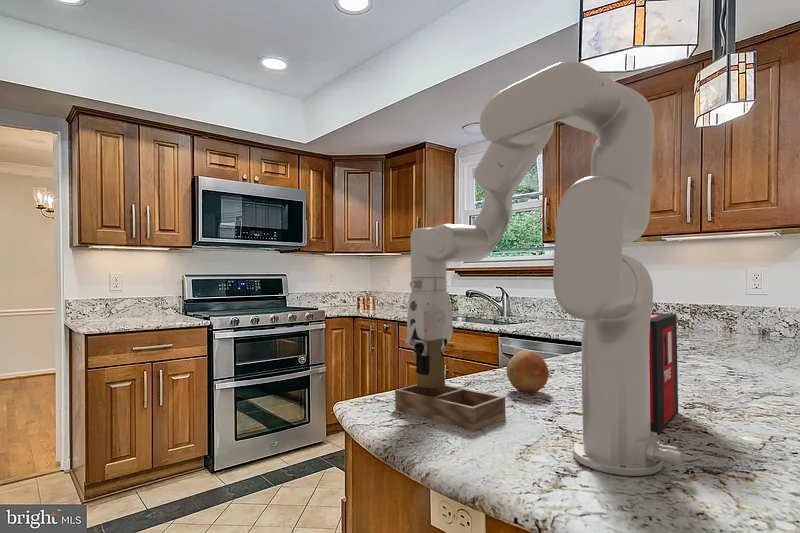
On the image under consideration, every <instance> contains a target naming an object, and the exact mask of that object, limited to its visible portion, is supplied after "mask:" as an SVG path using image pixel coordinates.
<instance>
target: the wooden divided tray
mask: <svg viewBox="0 0 800 533" xmlns="http://www.w3.org/2000/svg"><path fill="white" fill-rule="evenodd" d="M394 400H395V401H394V403H395V404H394V408H395V409H394V410H395V411H399V412H402V413H406V414H411V415H413V416H416V417H420V418H424V419H427V420H431V421H435V422H438V423H442V424H445V425H448V424H449V426H452V425H453V426H452V427H456V426H457V427H456V428H459V427H461V428H460V429H463V428H464V430H466V429H468V430H467V431H470V430H471V431H470V432H473V431H474V432H476V431H478V430H481V429H483V428H486V427H488V426H490V424H491V425H493V424H496V423H498V422H500V421H502V419H503V420H505V419H506V416H507V415H506V397H505V396H502V395H497V394H492V393H487V392H483V391H478V390H474V389H473V390H472V389H468V388H463V387H459V386H454V385H448V384H445V386H443V387H438V388H425V387H420V386H418V385H417V383H416V384H412V385H408V386H405V387H401V388H398V389H395V390H394ZM497 421H498V422H497ZM485 426H486V427H485ZM482 427H483V428H482ZM480 428H481V429H480ZM475 430H476V431H475Z"/></svg>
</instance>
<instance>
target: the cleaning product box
mask: <svg viewBox="0 0 800 533" xmlns="http://www.w3.org/2000/svg"><path fill="white" fill-rule="evenodd" d="M677 327H678V323H677V313H662V312H661V313H659V312H651V319H650V333H649V357H650V360H649V376H650V430H651V432H655V433H657V436H659V435H661V434H662V432H663V431H664V430H665V429H666V427H667V426H668V425H669V424H670V423H672V421H673V420H674V418H675V417H676V416H677V415H678V414H679V387H678V386H679V381H678V334H677V333H678V328H677Z"/></svg>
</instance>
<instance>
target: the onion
mask: <svg viewBox="0 0 800 533" xmlns="http://www.w3.org/2000/svg"><path fill="white" fill-rule="evenodd" d="M549 374H550V372H549V368H548V365H547V363H546V361H545V360H544V358H543V357H542V356H541V355H540V354H539V353H537V352H535V351H533V350H530V349H523V350H519V351H518V352H516V353H515V354H514V355H513V356H512V357H511V358H510V359H509V361H508V363H507V365H506V376H507V379H508V380H509V382H510V384H511V386H512V387H513V388H514V389H515V390H516V391H519V392H525V393H528V394H535V393H537V392H539V391H540V390H541V389H542V388H544V387H545V386H546V384H547V383H548V380H549V376H550V375H549Z"/></svg>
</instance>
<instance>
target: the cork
mask: <svg viewBox="0 0 800 533" xmlns="http://www.w3.org/2000/svg"><path fill="white" fill-rule="evenodd" d="M419 340H422V339H419ZM442 344H443V339H438V340H435V341H429V342H428V350H427V356H429V374H428V375H423V374H418V373H417V382H416V384H417V385H418V386H420V387H425V388H438V387H443V386H445V385H446V380H445V374H444V372H445V371H444V363H443V364H442V357H441V350H440V348H441V346H442ZM420 345H421V347H422V343H420Z"/></svg>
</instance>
